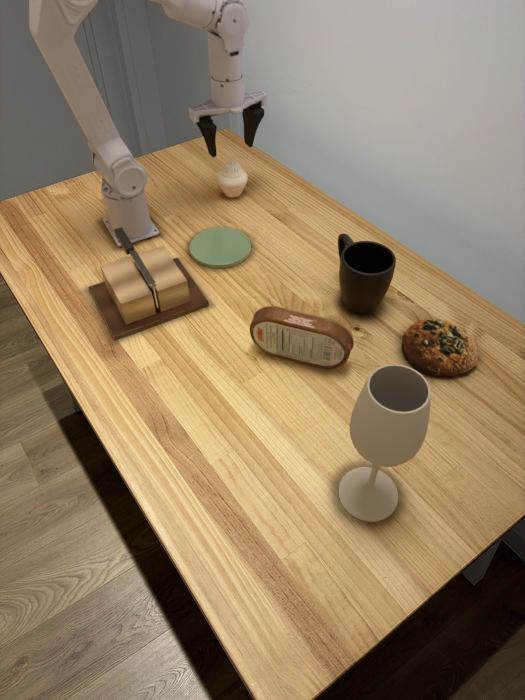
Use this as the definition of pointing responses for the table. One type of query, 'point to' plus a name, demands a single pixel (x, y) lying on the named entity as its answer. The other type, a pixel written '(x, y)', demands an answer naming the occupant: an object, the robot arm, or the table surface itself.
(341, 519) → the table surface
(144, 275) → the knife
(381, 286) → the mug
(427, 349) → the bread roll
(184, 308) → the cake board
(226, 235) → the plate
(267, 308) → the tin
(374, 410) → the wineglass
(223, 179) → the muffin
